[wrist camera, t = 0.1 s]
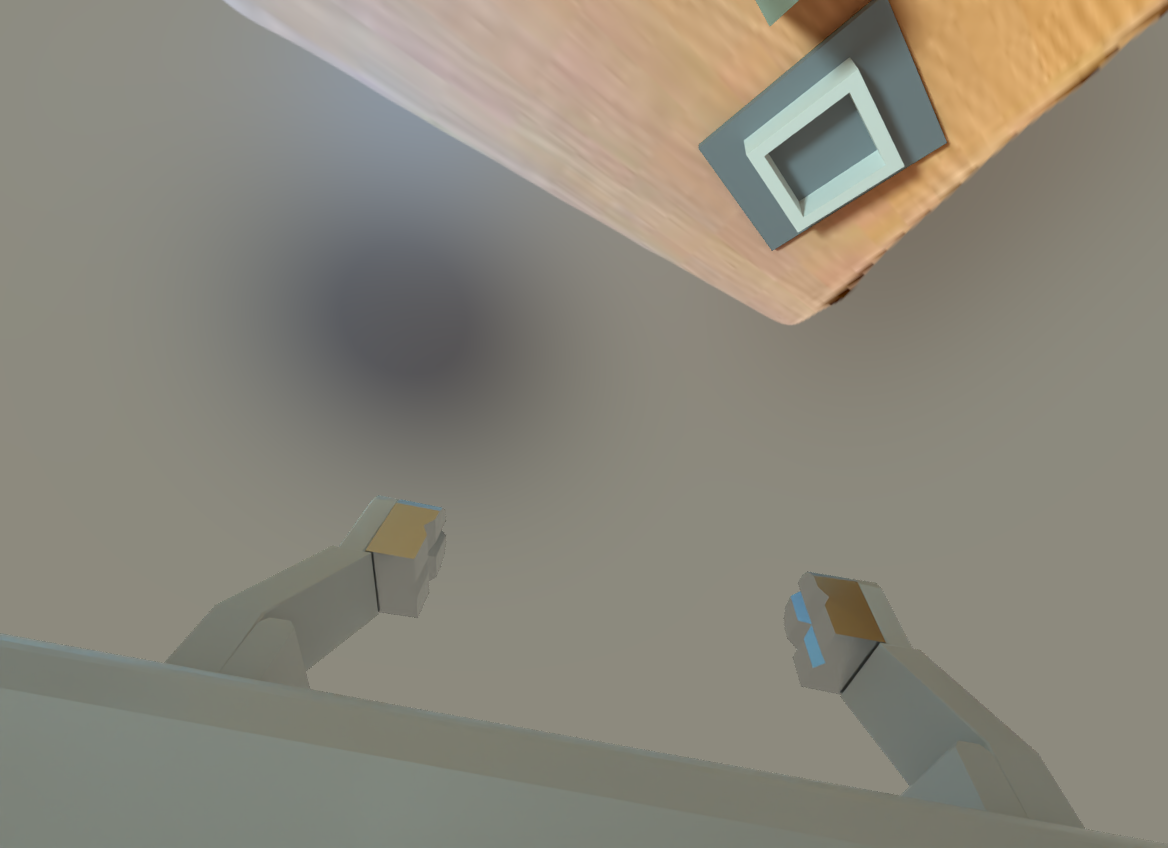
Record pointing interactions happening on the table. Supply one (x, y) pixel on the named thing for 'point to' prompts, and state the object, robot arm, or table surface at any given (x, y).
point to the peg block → (774, 8)
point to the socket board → (827, 128)
